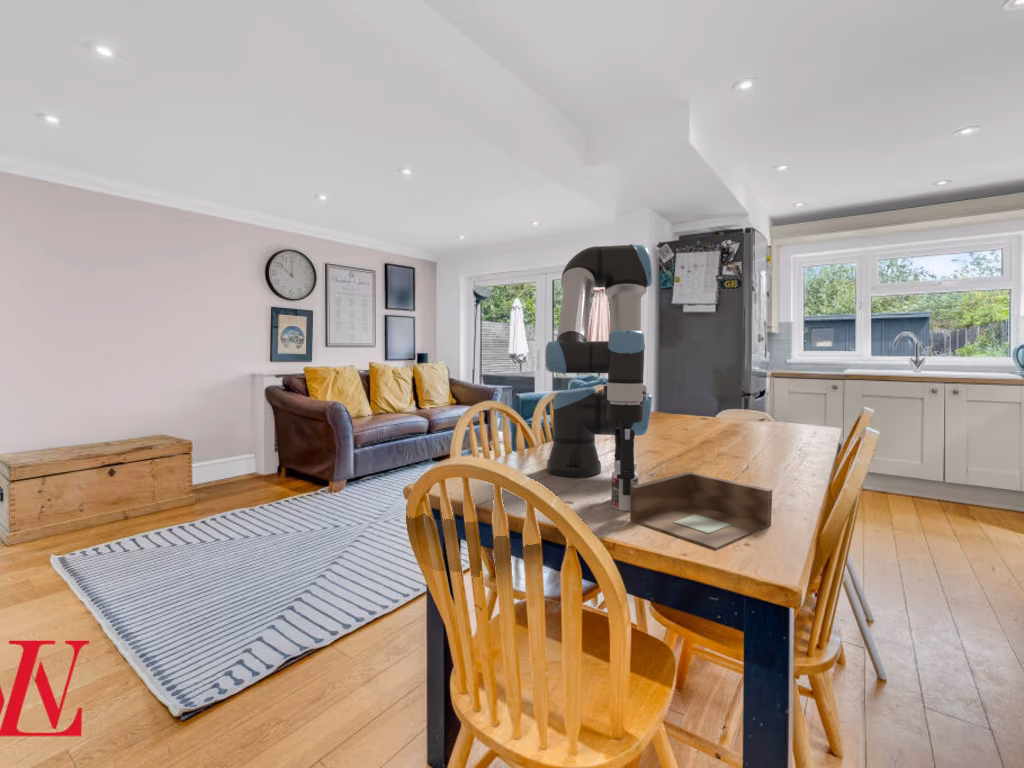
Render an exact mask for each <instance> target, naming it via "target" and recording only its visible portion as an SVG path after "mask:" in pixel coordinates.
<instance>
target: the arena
mask: <svg viewBox="0 0 1024 768" xmlns="http://www.w3.org/2000/svg"><path fill="white" fill-rule="evenodd" d="M772 509H773V489H770V488H765V487H760V486H756V485H750V484H747V483H743V482H738V481H732V480H728V479H723V478H720V477H713V476H710V475H705V474H702V473H695V472H691V471H685V472H681V473H678V474H673V475H669V476H666V477H663V478H662V477H661V478H658V479H653V480H651V481H646V482H643V483H638V485H634V486H631V500H630V511H629V512H630V514H629V518H630V519H629V521H630V522H633V523H636V524H639V525H641V526H645V527H648V528H650V529H653V530H656V531H659V532H662V533H666V534H667V535H671V536H674V537H677V538H680V539H683V540H685V541H689V542H692V543H695V544H696V545H697V544H698V545H701V546H703V547H706V548H709V549H712V550H719V549H721V548H724V547H726V546H727V545H731V544H734V543H735V542H737V541H739V540H741V539H744V538H746V537H749V536H750V535H752V534H755V533H757V532H759V531H761V530H763V529H764V530H765V529H766V528H768V527H771V526H772Z"/></svg>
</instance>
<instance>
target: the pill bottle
mask: <svg viewBox="0 0 1024 768" xmlns="http://www.w3.org/2000/svg"><path fill="white" fill-rule="evenodd" d="M613 467H614V470H613V471H612V473H611V485H610V486H611V491H610V492H611V493H610V494H611V495H610V497H611V498H610V501H611V502H610V503H611V507H612V508H613V509H616V510H619V479H617V474H620V460H617V461H615V460H614V463H613ZM636 470H637V462H636V461H634V474H635V477H634V478H633V486H634V485H638V484H639V474H638V473H637V471H636ZM619 511H620V510H619ZM624 511H628V510H624Z"/></svg>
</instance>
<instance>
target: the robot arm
mask: <svg viewBox="0 0 1024 768" xmlns="http://www.w3.org/2000/svg"><path fill="white" fill-rule="evenodd" d="M649 251H650V250H649V249H648V247H647V246H646V245H643V244H632V243H631V244H625V245H623V244H622V245H620V244H619V245H603V246H599V245H597V246H590V247H587V248H585V249H582V250H581V251H579V252H578V253H576V254H575V255H574V256H572V258H571V259H570V260H569V261H568V262H567V264H566V266H565V267H564V269H563V271H562V273H561V278H560V285H561V288H562V297H561V306H560V312H559V314H560V315H559V320H558V321H559V322H558V327H557V336H556V340H554V341H548V343H546V346H545V367H546V370H547V371H548V372H550V373H555V374H607V382H606V383H605V384H604V385H603V387H602V389H603V390H602V391H603V392H597V390H596V388H595V387H592V386H590V387H578V388H576V387H575V388H570V389H565V390H560V391H557V392H556V393H555V394H554V396H553V403H552V413H553V415H552V418H553V419H552V421H553V426H552V428H553V430H552V434H553V435H552V437H553V438H552V446H551V450H550V454H549V458H548V459H547V461H546V470H547V472H548V473H549V474H552V475H555V476H559V477H568V478H586V477H593V476H596V475H600V474H601V472H602V463H601V460H599V453H598V451H597V447H596V436H599V435H600V436H601V435H602V436H614V444H615V447H614V462H615V461H617V460H620V474H617V479H619V511H625V510H628V511H629V512H630V500H631V486H633V478H634V477H635V474H634V462H635V452H634V451H635V450H634V448H635V436H643V435H646V433H647V431H648V428H649V424H650V416H651V412H652V405H653V404H652V403H653V402H652V401H653V400H652V399H653V395H652V393H650V392H647V386H646V384H644V372H645V370H644V369H645V349H646V342H645V334H644V332H643V331H642V297H643V296H644V295H645V294H646V293H647V291H648V290H647V288H648V287H651V286H652V284H653V273H652V272H653V271H652V261H651V260H652V259H651V256H650V252H649ZM595 288H604V294H605V296H607V297H608V298H609V334H608V340H605V341H604V340H601V341H599V340H598V341H596V340H595V341H594V340H593V341H591V340H589V339H588V338H589V324H590V311H591V297H592V292H593V290H594V289H595Z"/></svg>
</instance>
